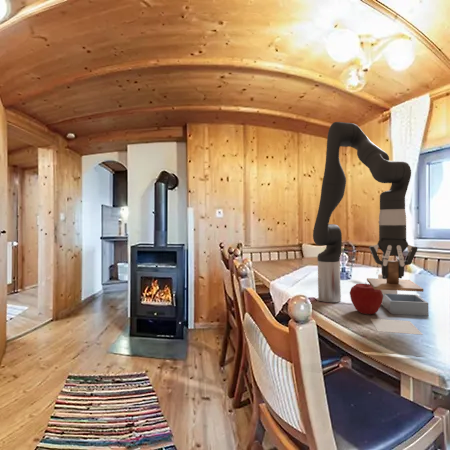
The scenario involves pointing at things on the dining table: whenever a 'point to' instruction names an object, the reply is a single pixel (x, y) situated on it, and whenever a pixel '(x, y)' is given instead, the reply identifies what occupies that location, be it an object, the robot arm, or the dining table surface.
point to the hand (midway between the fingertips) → (392, 277)
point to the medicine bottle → (386, 290)
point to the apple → (366, 298)
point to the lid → (393, 280)
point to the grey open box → (405, 304)
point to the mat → (395, 326)
